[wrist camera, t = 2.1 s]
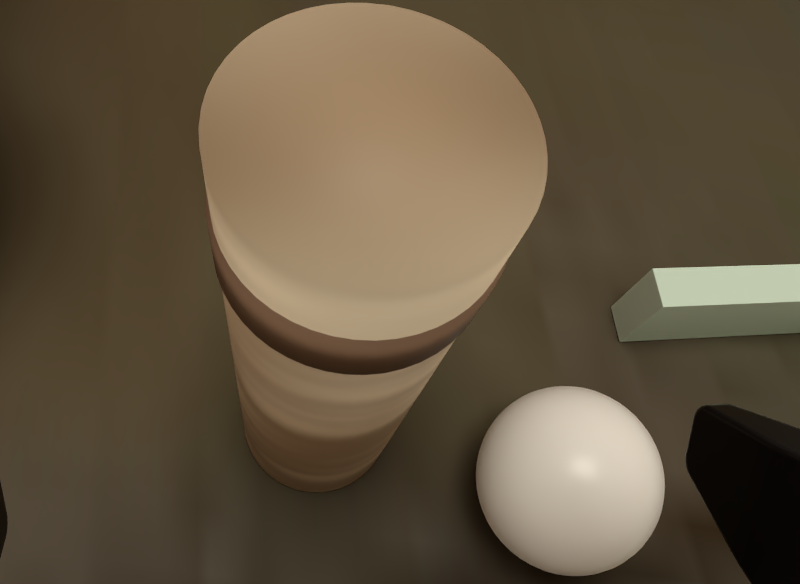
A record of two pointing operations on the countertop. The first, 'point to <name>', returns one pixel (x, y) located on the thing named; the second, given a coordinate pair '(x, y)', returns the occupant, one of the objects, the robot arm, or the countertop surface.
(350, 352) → the player peg
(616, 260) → the countertop surface
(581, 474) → the ball
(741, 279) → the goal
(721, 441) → the robot arm
